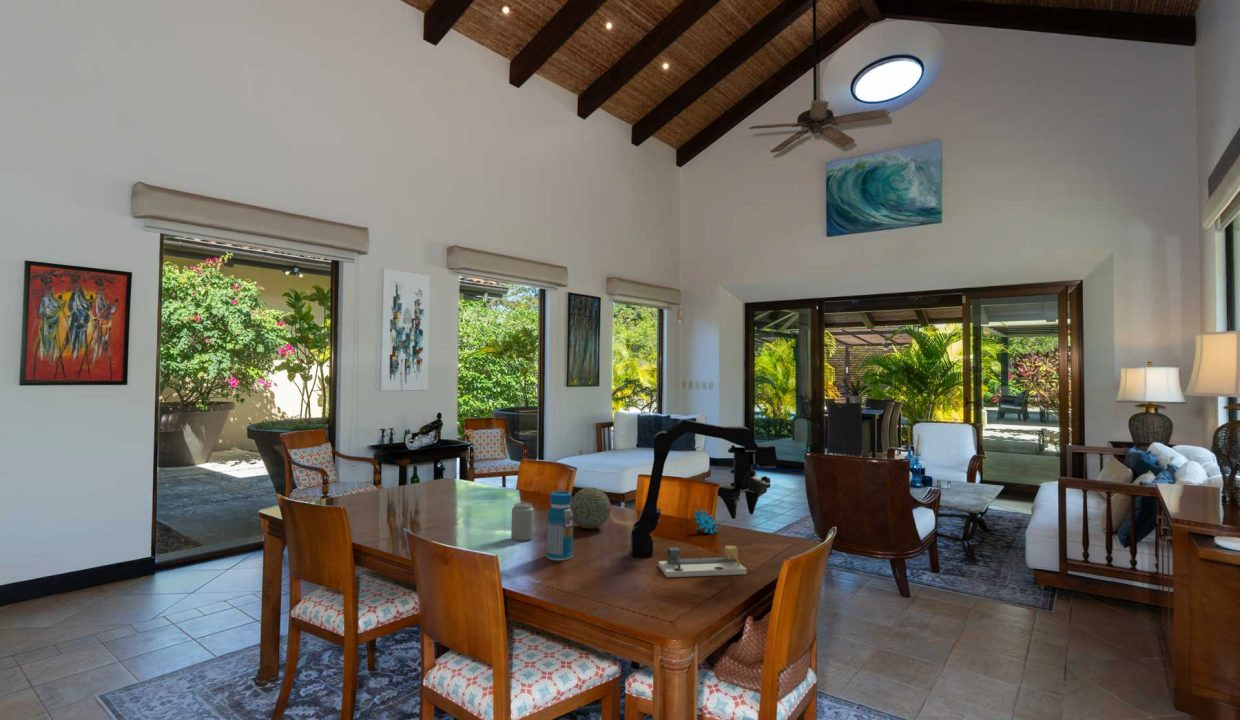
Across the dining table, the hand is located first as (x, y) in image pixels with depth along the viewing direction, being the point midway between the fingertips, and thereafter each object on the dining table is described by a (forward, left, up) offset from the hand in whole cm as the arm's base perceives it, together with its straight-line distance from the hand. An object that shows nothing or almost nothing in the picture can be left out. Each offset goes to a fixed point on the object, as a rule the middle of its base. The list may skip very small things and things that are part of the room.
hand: (742, 516), depth 200 cm
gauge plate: (-16, -9, -14) cm, 23 cm away
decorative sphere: (-43, +42, -14) cm, 62 cm away
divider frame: (-15, -9, -12) cm, 21 cm away
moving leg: (-6, -9, -12) cm, 16 cm away
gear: (-1, +33, -14) cm, 36 cm away
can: (-68, +30, -14) cm, 76 cm away
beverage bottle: (-57, +8, -14) cm, 59 cm away
